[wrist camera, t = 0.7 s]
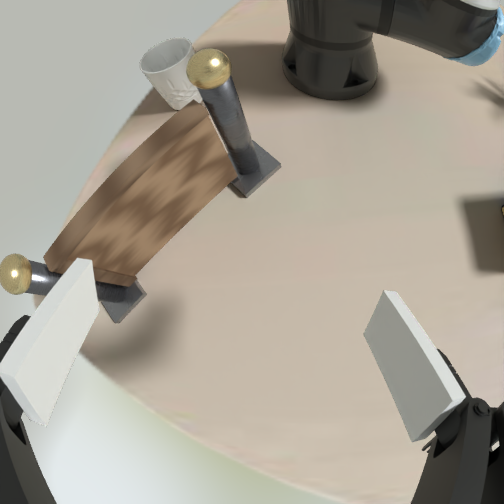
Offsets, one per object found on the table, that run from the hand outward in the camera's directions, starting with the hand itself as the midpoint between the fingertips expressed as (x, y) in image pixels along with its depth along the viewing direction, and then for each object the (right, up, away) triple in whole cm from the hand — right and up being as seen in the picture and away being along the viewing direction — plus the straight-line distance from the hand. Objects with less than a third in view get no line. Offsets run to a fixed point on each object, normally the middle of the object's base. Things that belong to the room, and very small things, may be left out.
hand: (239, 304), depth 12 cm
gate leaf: (-9, +5, +24) cm, 26 cm away
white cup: (-10, +27, +30) cm, 42 cm away
